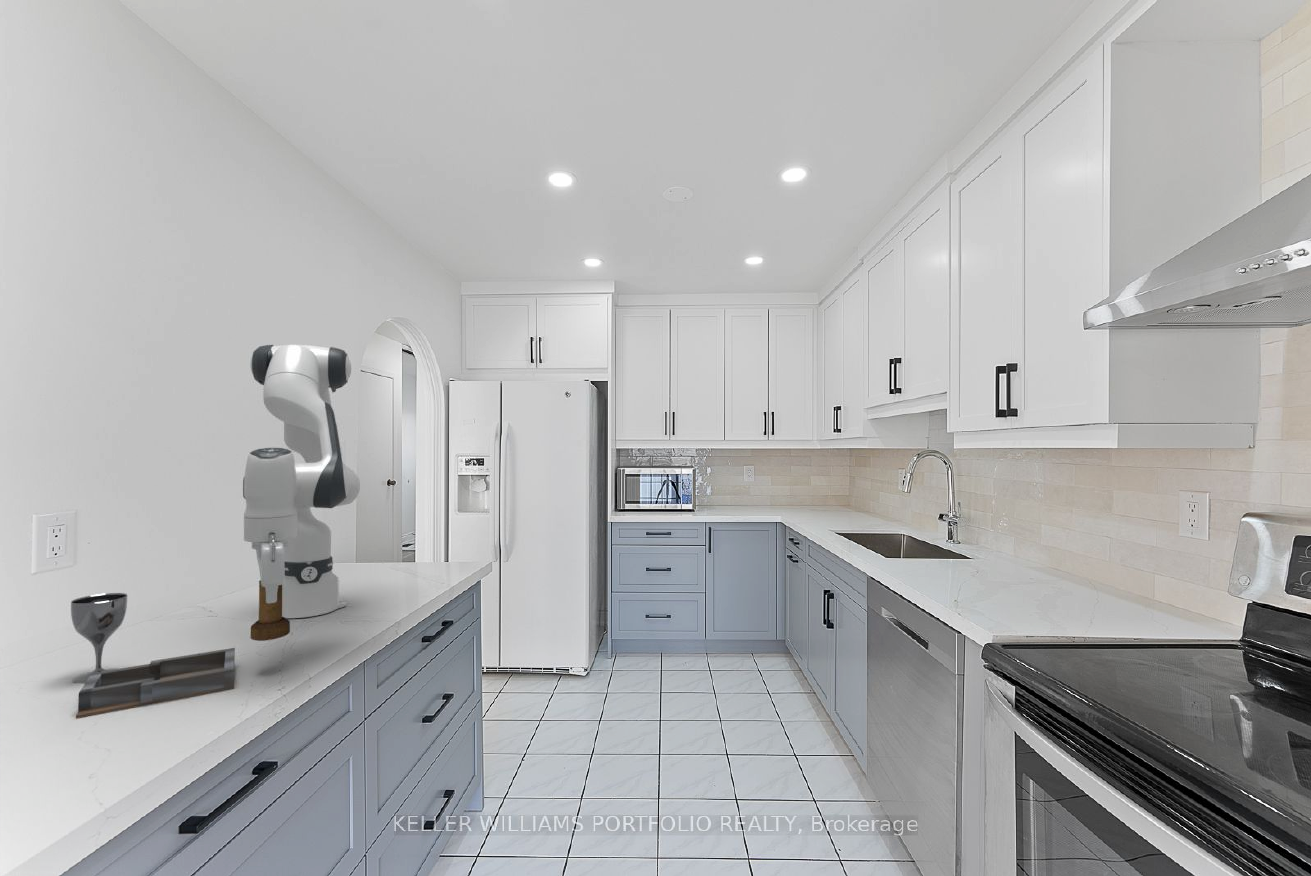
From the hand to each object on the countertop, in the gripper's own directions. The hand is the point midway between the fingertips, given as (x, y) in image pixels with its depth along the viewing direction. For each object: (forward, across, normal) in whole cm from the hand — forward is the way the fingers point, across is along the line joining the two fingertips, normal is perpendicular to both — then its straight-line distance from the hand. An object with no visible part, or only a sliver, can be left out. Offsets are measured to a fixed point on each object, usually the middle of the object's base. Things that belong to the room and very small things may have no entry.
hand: (270, 599), depth 117 cm
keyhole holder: (+14, 0, +16) cm, 22 cm away
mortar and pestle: (+7, 0, 0) cm, 7 cm away
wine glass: (+14, +15, +27) cm, 35 cm away
